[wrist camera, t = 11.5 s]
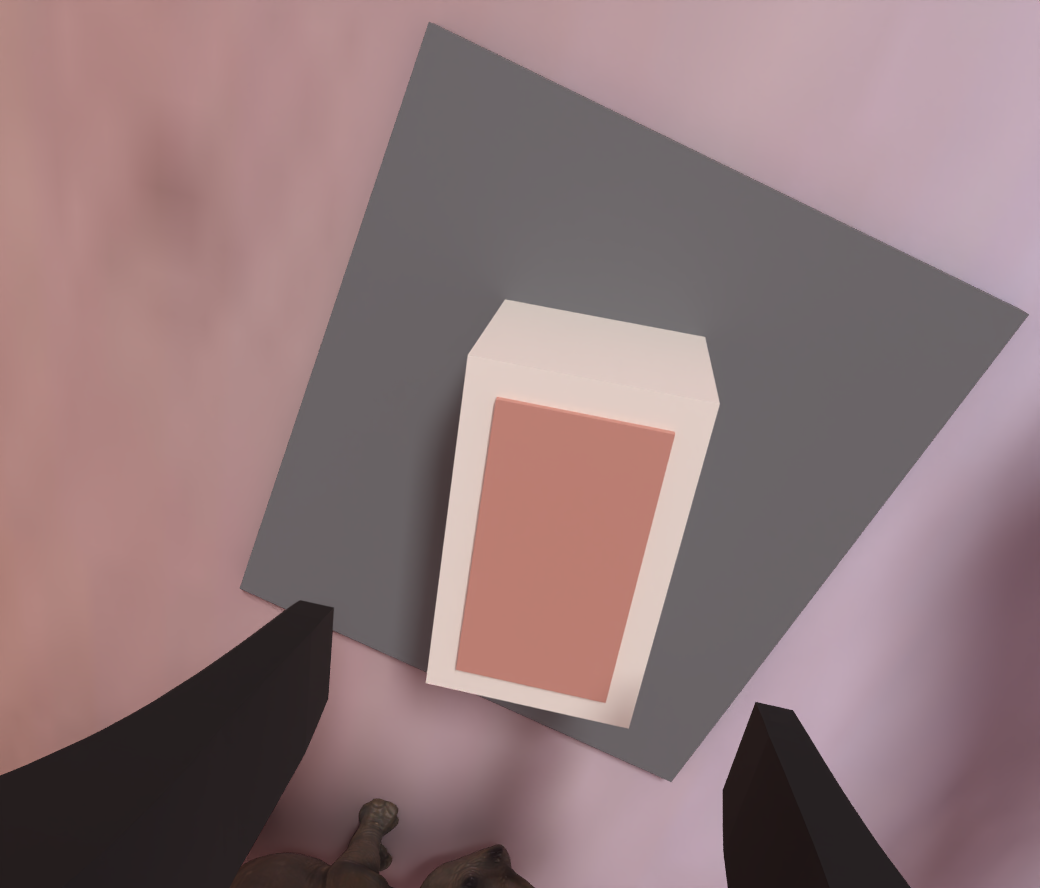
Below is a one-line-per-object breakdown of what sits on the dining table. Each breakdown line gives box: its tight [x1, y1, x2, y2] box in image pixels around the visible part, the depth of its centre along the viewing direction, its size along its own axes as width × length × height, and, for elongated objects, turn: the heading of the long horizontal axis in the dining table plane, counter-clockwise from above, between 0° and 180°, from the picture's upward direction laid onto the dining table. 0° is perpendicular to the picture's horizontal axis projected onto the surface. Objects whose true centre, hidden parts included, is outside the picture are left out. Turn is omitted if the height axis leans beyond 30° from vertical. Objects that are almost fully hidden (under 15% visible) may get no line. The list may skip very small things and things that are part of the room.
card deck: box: [426, 299, 720, 729], centre depth 19 cm, size 8×5×5 cm, turn 171°
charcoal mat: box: [240, 22, 1029, 782], centre depth 22 cm, size 15×17×1 cm
